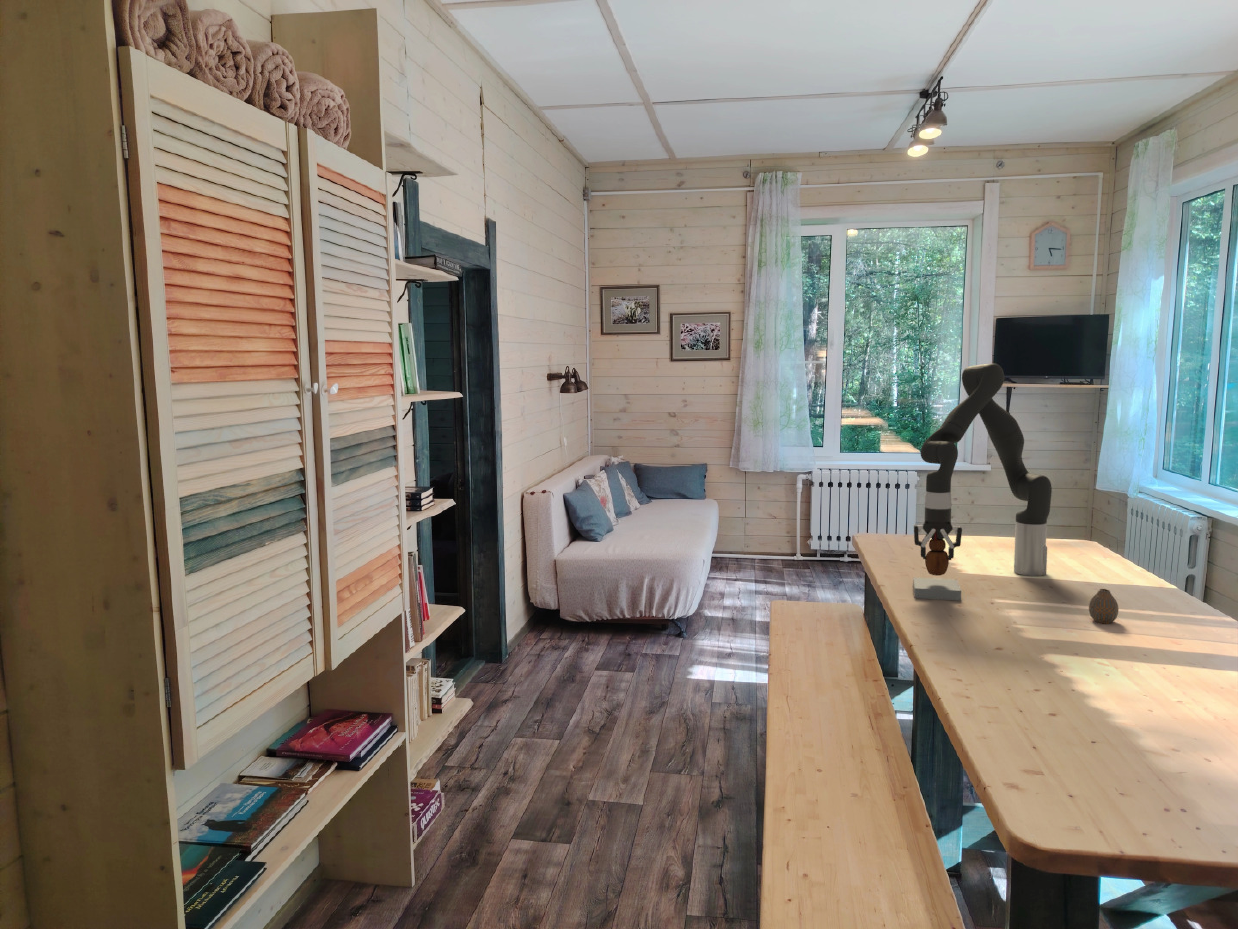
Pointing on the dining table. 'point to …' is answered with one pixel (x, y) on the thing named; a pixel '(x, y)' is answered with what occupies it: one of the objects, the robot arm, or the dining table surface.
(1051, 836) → the dining table surface
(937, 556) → the wooden figurine
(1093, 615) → the vase
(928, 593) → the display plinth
